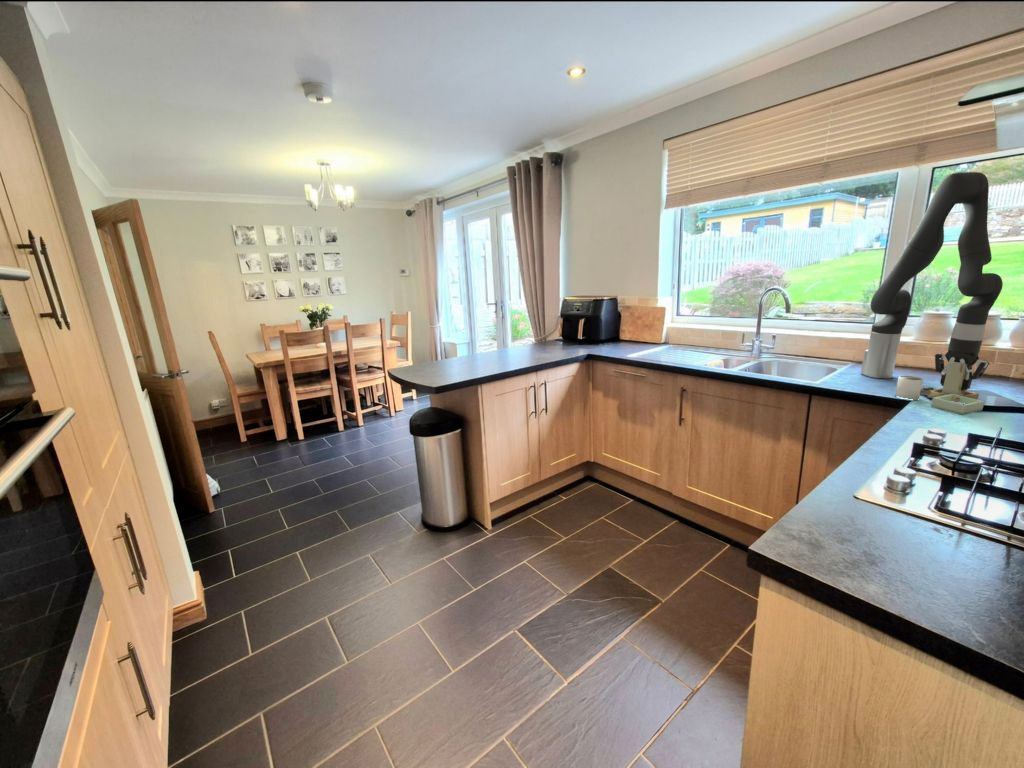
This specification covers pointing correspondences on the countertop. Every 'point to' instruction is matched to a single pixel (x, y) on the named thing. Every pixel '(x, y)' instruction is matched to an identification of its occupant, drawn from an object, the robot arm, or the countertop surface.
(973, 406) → the trough
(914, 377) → the cup
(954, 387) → the skincare box
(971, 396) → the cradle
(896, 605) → the countertop surface
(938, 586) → the countertop surface
